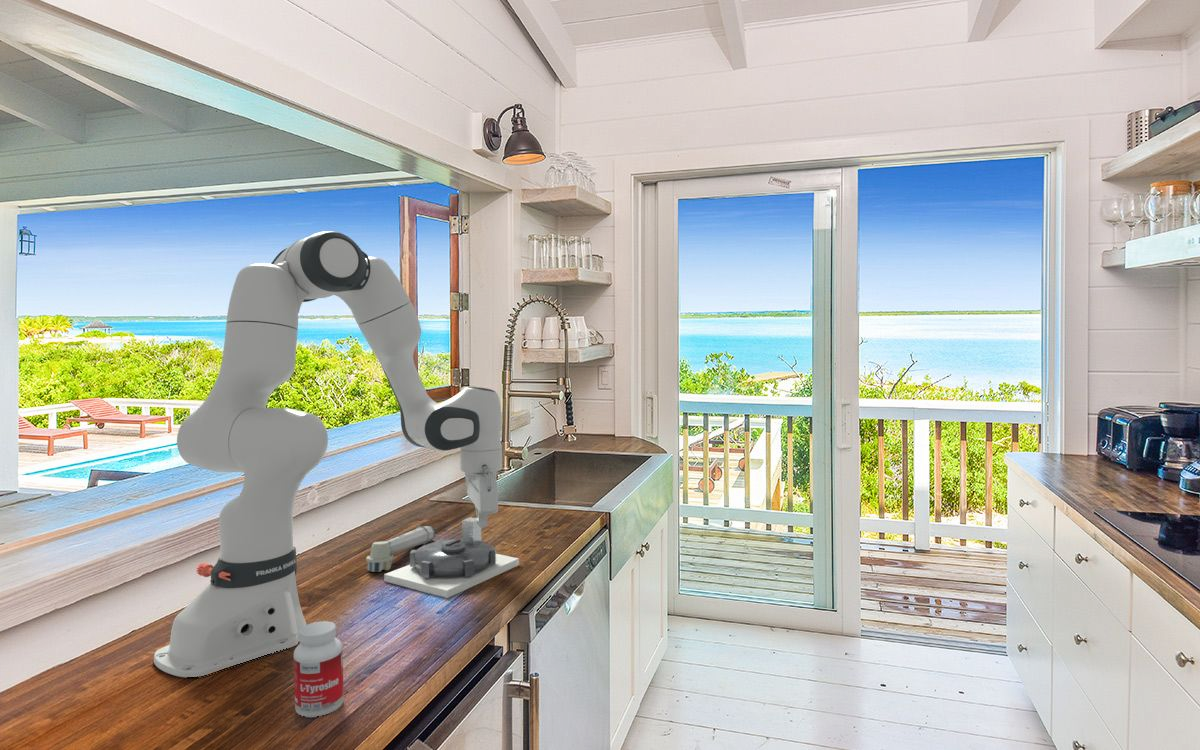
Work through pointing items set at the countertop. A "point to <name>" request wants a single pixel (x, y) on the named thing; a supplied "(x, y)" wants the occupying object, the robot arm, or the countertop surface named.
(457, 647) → the countertop surface
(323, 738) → the countertop surface
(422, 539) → the toothbrush head
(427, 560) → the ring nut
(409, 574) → the base plate
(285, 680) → the countertop surface
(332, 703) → the pill bottle
